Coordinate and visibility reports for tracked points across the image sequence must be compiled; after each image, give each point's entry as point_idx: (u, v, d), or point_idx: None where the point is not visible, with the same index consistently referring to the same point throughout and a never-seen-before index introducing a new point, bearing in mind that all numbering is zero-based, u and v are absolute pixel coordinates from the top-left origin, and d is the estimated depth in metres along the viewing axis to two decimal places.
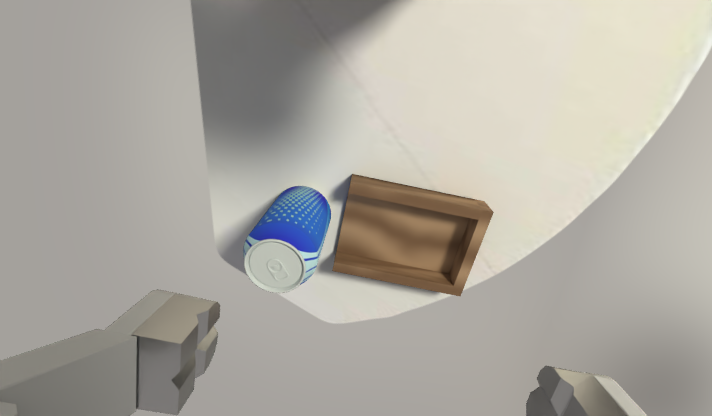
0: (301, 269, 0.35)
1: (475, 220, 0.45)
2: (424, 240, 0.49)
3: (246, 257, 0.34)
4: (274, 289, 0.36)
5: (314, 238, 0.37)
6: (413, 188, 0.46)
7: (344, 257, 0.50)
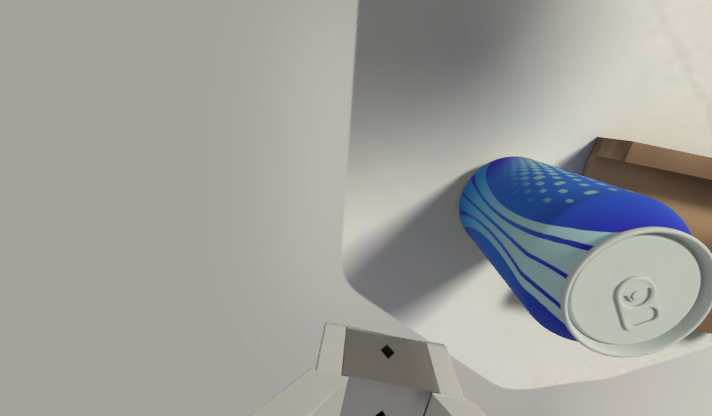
0: (693, 301, 0.15)
1: None
2: None
3: (577, 273, 0.14)
4: (611, 348, 0.16)
5: None
6: None
7: None
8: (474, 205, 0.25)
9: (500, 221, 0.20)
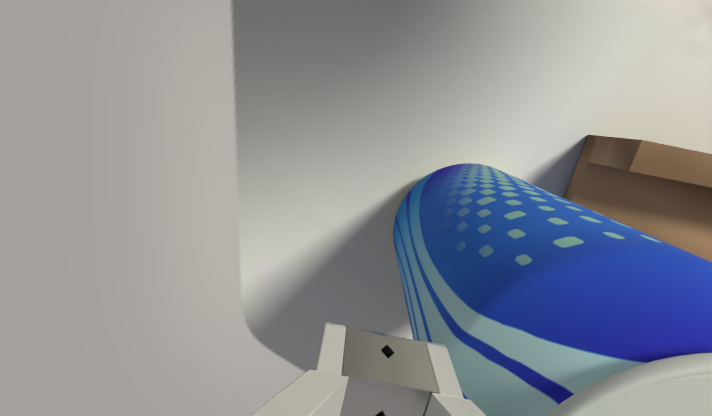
0: None
1: None
2: None
3: None
4: None
5: None
6: None
7: None
8: (401, 239, 0.16)
9: (418, 277, 0.12)
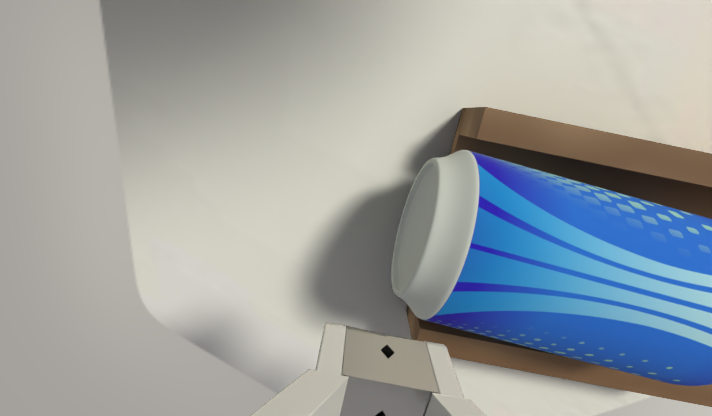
0: None
1: None
2: None
3: None
4: None
5: None
6: None
7: None
8: (564, 271, 0.12)
9: (682, 292, 0.12)
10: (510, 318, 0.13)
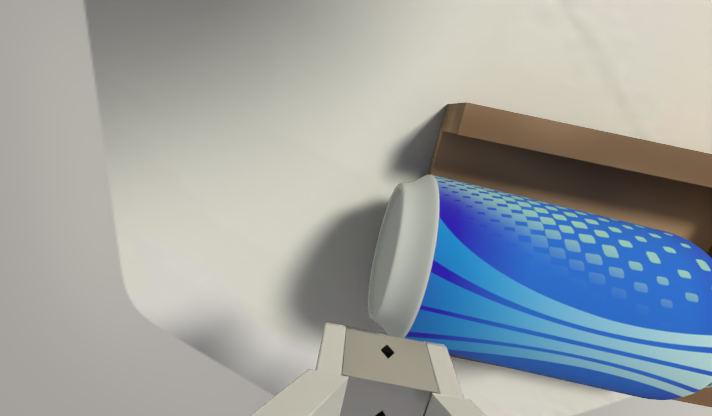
0: None
1: None
2: None
3: None
4: None
5: None
6: None
7: None
8: (511, 328, 0.13)
9: (627, 346, 0.13)
10: (460, 353, 0.14)
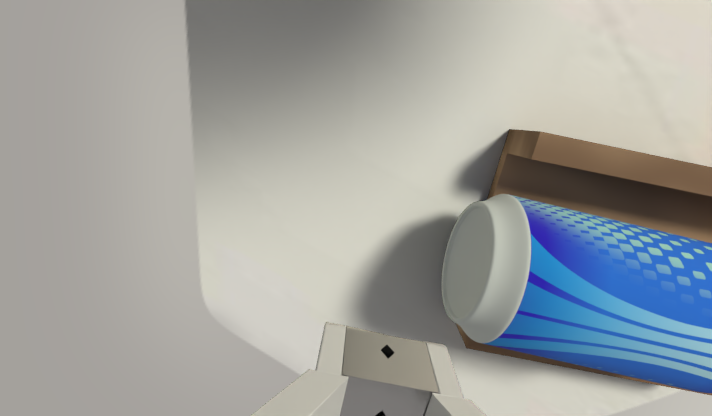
0: None
1: None
2: None
3: None
4: None
5: None
6: None
7: None
8: (595, 329, 0.15)
9: (695, 345, 0.15)
10: (543, 352, 0.16)
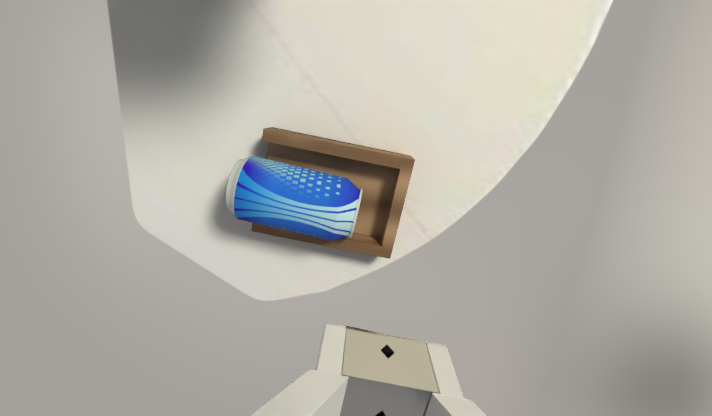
0: None
1: (398, 171, 0.43)
2: None
3: (355, 219, 0.40)
4: None
5: None
6: (335, 140, 0.44)
7: None
8: (265, 205, 0.39)
9: (304, 210, 0.39)
10: (256, 218, 0.40)
